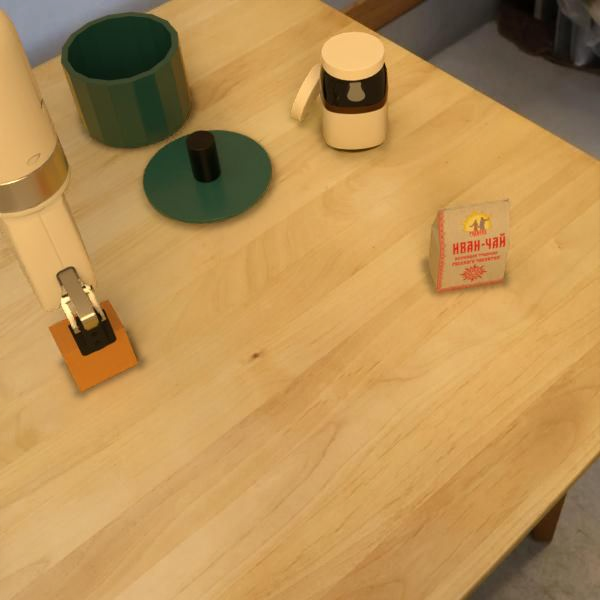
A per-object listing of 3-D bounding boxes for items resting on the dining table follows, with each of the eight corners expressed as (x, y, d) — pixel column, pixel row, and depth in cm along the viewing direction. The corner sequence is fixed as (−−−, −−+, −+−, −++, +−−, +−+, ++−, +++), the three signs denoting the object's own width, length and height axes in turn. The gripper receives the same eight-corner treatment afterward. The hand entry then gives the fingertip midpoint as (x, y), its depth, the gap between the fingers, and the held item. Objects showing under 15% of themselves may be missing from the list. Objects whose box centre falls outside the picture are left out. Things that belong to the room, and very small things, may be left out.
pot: (107, 163, 101) (86, 99, 93) (67, 102, 108) (44, 38, 101) (210, 120, 104) (197, 55, 97) (164, 63, 112) (149, -1, 104)
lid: (177, 247, 92) (167, 207, 87) (125, 168, 100) (112, 128, 95) (295, 192, 96) (291, 151, 91) (235, 120, 104) (229, 80, 99)
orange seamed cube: (81, 392, 81) (63, 357, 77) (66, 362, 84) (48, 326, 79) (138, 363, 83) (124, 327, 78) (122, 335, 85) (107, 298, 80)
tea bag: (428, 264, 88) (433, 196, 80) (492, 254, 88) (504, 185, 80) (436, 292, 86) (443, 224, 78) (502, 281, 86) (515, 213, 78)
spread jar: (390, 160, 98) (391, 78, 89) (291, 165, 98) (283, 84, 89) (383, 93, 105) (384, 10, 96) (292, 98, 106) (284, 16, 96)
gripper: (-66, 123, 67) (9, 265, 80) (1, 264, 57) (74, 398, 70) (25, 87, 68) (83, 232, 82) (105, 217, 59) (156, 357, 72)
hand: (79, 309), depth 76 cm, fingers open, 9 cm apart
